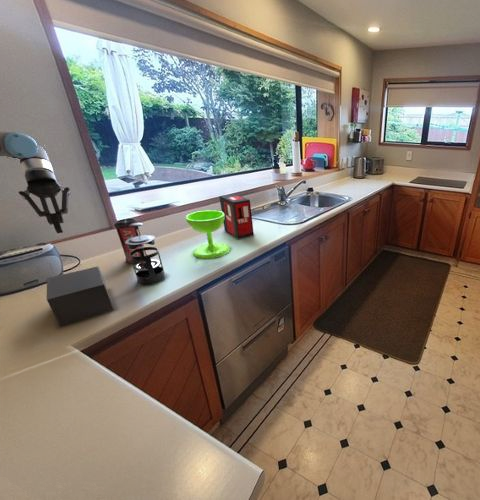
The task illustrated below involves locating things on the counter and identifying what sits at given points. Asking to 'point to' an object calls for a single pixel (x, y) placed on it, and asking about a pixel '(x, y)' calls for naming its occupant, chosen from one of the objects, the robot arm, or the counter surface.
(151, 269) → the french press
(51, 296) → the cabinet
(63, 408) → the counter surface
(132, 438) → the counter surface
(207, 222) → the wineglass
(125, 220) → the red canister
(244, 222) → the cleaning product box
